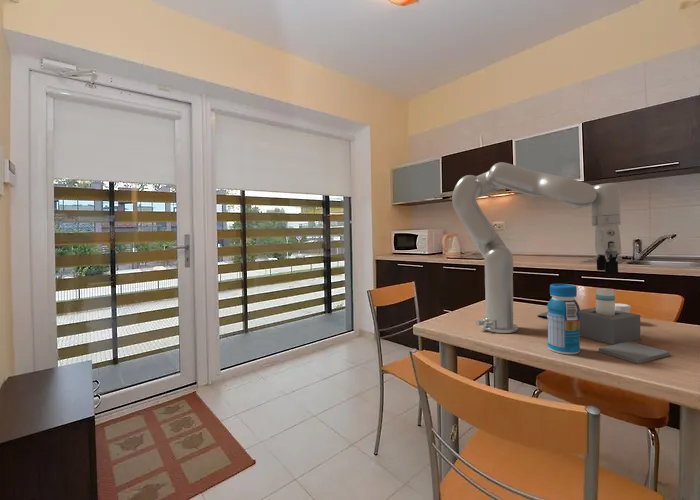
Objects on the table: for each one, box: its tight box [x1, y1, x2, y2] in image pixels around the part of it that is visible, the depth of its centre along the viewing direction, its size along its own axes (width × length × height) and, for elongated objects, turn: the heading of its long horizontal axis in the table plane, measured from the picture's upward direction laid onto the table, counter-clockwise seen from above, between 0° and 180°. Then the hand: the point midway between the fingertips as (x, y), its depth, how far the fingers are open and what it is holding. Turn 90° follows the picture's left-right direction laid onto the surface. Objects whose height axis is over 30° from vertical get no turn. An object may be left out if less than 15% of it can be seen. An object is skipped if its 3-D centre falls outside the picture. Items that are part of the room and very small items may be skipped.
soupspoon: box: [537, 311, 548, 318], centre depth 126 cm, size 22×3×7 cm
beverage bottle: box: [546, 283, 581, 355], centre depth 97 cm, size 8×8×20 cm
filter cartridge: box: [595, 287, 616, 316], centre depth 108 cm, size 5×5×14 cm
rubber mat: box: [598, 341, 671, 364], centre depth 93 cm, size 14×10×1 cm
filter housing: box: [578, 306, 641, 345], centre depth 108 cm, size 13×13×8 cm
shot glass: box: [615, 302, 632, 313], centre depth 122 cm, size 7×7×7 cm
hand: (607, 272), depth 107 cm, fingers open, 9 cm apart
